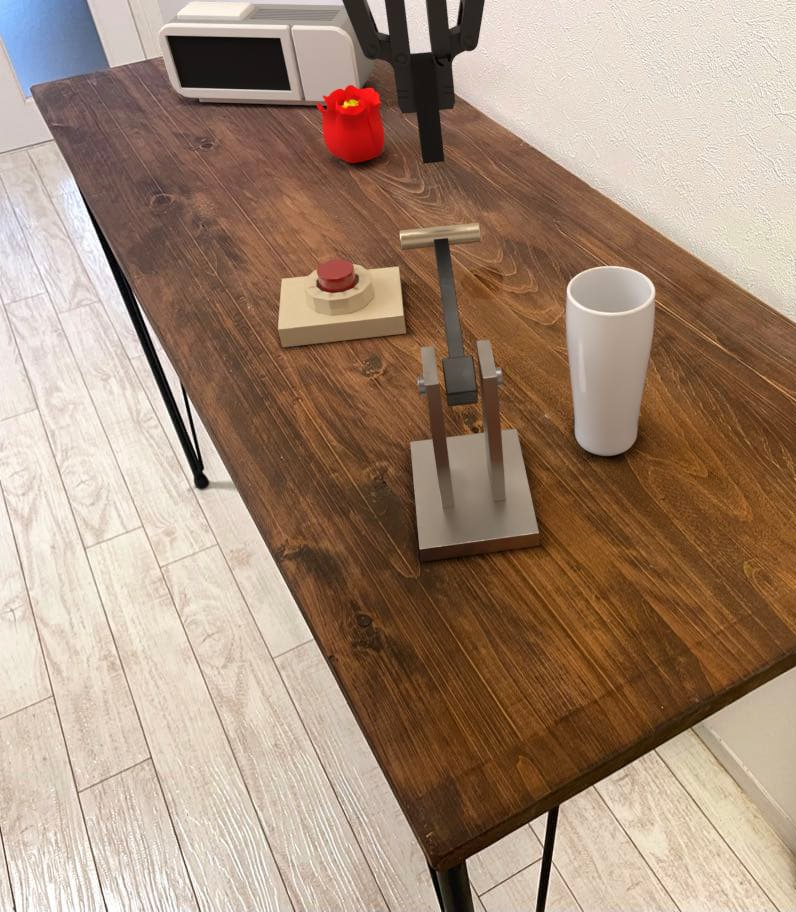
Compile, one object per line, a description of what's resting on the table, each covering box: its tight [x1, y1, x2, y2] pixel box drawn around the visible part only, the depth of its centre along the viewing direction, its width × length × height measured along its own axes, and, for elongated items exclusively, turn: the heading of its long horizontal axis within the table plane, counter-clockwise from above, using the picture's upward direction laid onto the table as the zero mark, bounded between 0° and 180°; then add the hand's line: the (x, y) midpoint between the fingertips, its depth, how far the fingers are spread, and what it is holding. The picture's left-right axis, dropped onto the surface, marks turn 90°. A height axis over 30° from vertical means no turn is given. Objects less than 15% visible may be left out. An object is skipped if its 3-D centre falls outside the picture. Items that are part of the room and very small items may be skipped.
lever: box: [399, 222, 482, 408], centre depth 68 cm, size 14×6×2 cm, turn 9°
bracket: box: [409, 338, 541, 563], centre depth 69 cm, size 12×9×14 cm
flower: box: [316, 85, 385, 164], centre depth 116 cm, size 8×8×8 cm
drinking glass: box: [565, 265, 656, 457], centre depth 74 cm, size 7×7×15 cm
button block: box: [277, 263, 407, 348], centre depth 92 cm, size 12×9×4 cm
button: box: [316, 258, 357, 293], centre depth 90 cm, size 4×4×2 cm
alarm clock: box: [157, 0, 376, 107], centre depth 130 cm, size 27×9×12 cm, turn 83°
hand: (432, 153), depth 65 cm, fingers closed
